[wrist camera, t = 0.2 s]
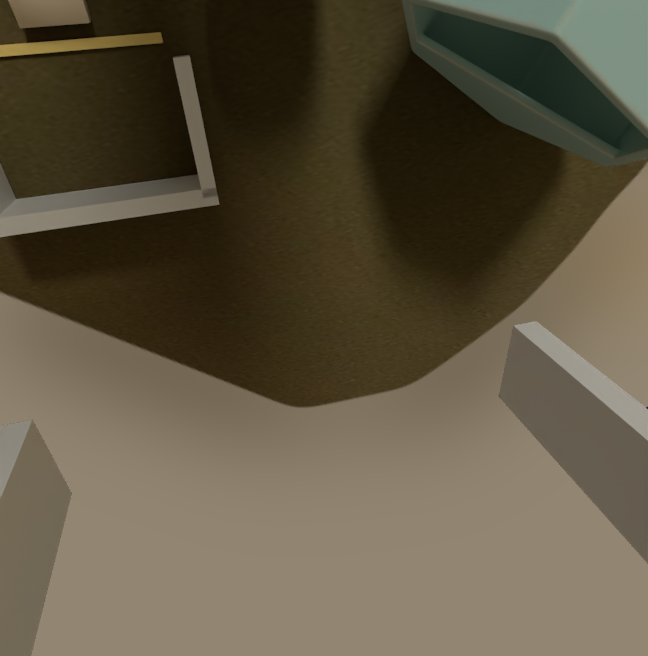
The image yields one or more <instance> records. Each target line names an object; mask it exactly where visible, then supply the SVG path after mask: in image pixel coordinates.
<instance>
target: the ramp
mask: <svg viewBox="0 0 648 656" xmlns="http://www.w3.org/2000/svg"><path fill="white" fill-rule="evenodd" d="M8 1H9V3H10V6H11V8H12V10H13V13H14V15H15V18H16V20H17V22H18V25H19V27H20V28H32V27H45V26H58V25H71V24H84V23H91V20H92V19H91V15H90V12H89V9H88V5H87V2H86V0H8Z"/></svg>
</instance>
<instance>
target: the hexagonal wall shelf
mask: <svg viewBox="0 0 648 656" xmlns="http://www.w3.org/2000/svg"><path fill="white" fill-rule="evenodd" d="M401 1H402V6H403V11H404V16H405V21H406V26H407V31H408V36H409V40H410V45H411V49H412V51H413V52H414V53H415V54H416V55H418V56H419V57H420V58H421V59H422V60H424V61H425V62H426V63H427V64H429V65H430V66H431V67H432V68H434V69H435V70H436V71H437V72H439V73H440V74H441V75H442V76H444V77H445V78H446V79H447V80H449V81H450V82H451V83H452V84H453V85H455V86H456V87H457V88H458V89H460V90H461V91H462V92H463V93H465V94H466V95H467V96H468V97H470V98H471V99H472V100H473V101H475V102H476V103H477V104H478V105H480V106H481V107H482V108H483V109H484V110H486V111H487V112H488V113H489V114H491V115H492V116H493V117H494V118H496V119H497V120H499V121H500V122H502V123H504V124H507V125H509V126H511V127H513V128H516V129H518V130H520V131H523V132H525V133H528V134H530V135H532V136H535V137H537V138H539V139H542V140H544V141H546V142H549V143H551V144H553V145H556V146H558V147H560V148H563V149H565V150H567V151H570V152H572V153H574V154H577V155H579V156H581V157H584V158H586V159H588V160H591V161H593V162H595V163H598V164H600V165H602V166H605V167H613V166H617V165H621V164H625V163H630V162H634V161H638V160H642V159H646V158H648V0H401Z"/></svg>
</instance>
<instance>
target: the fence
mask: <svg viewBox="0 0 648 656" xmlns="http://www.w3.org/2000/svg"><path fill="white" fill-rule="evenodd" d="M173 62H174V66H175V71H176V76H177V80H178V85H179V89H180V94H181V98H182V103H183V108H184V112H185V117H186V121H187V126H188V130H189V135H190V140H191V144H192V149H193V153H194V158H195V163H196V167H197V172H198V175H190V176H183V177H176V178H168V179H161V180H154V181H146V182H139V183H132V184H124V185H117V186H110V187H102V188H95V189H88V190H80V191H73V192H66V193H58V194H51V195H44V196H36V197H29V198H21V199H16V198H15V195H14V193H13V191H12V189H11V186H10V184H9V182H8V180H7V177H6V175H5V173H4V171H3V168H2V166H1V164H0V237H5V236H11V235H18V234H25V233H32V232H38V231H45V230H52V229H58V228H65V227H72V226H79V225H85V224H92V223H99V222H106V221H112V220H119V219H126V218H132V217H139V216H146V215H153V214H159V213H166V212H173V211H180V210H186V209H193V208H200V207H206V206H213V205H219V200H218V195H217V190H216V185H215V180H214V175H213V170H212V165H211V160H210V155H209V150H208V145H207V140H206V135H205V130H204V125H203V120H202V115H201V110H200V105H199V100H198V95H197V90H196V85H195V80H194V75H193V70H192V65H191V60H190V56H189V55H183V56H174V57H173Z"/></svg>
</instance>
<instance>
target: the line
mask: <svg viewBox="0 0 648 656" xmlns="http://www.w3.org/2000/svg"><path fill="white" fill-rule="evenodd" d="M158 43H163V39H162V35H161V32H157V33H145V34H133V35H120V36H108V37H96V38H83V39H71V40H59V41H46V42H34V43H22V44H10V45H0V57H5V56H17V55H29V54H41V53H52V52H64V51H76V50H87V49H99V48H111V47H123V46H134V45H146V44H158Z"/></svg>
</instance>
